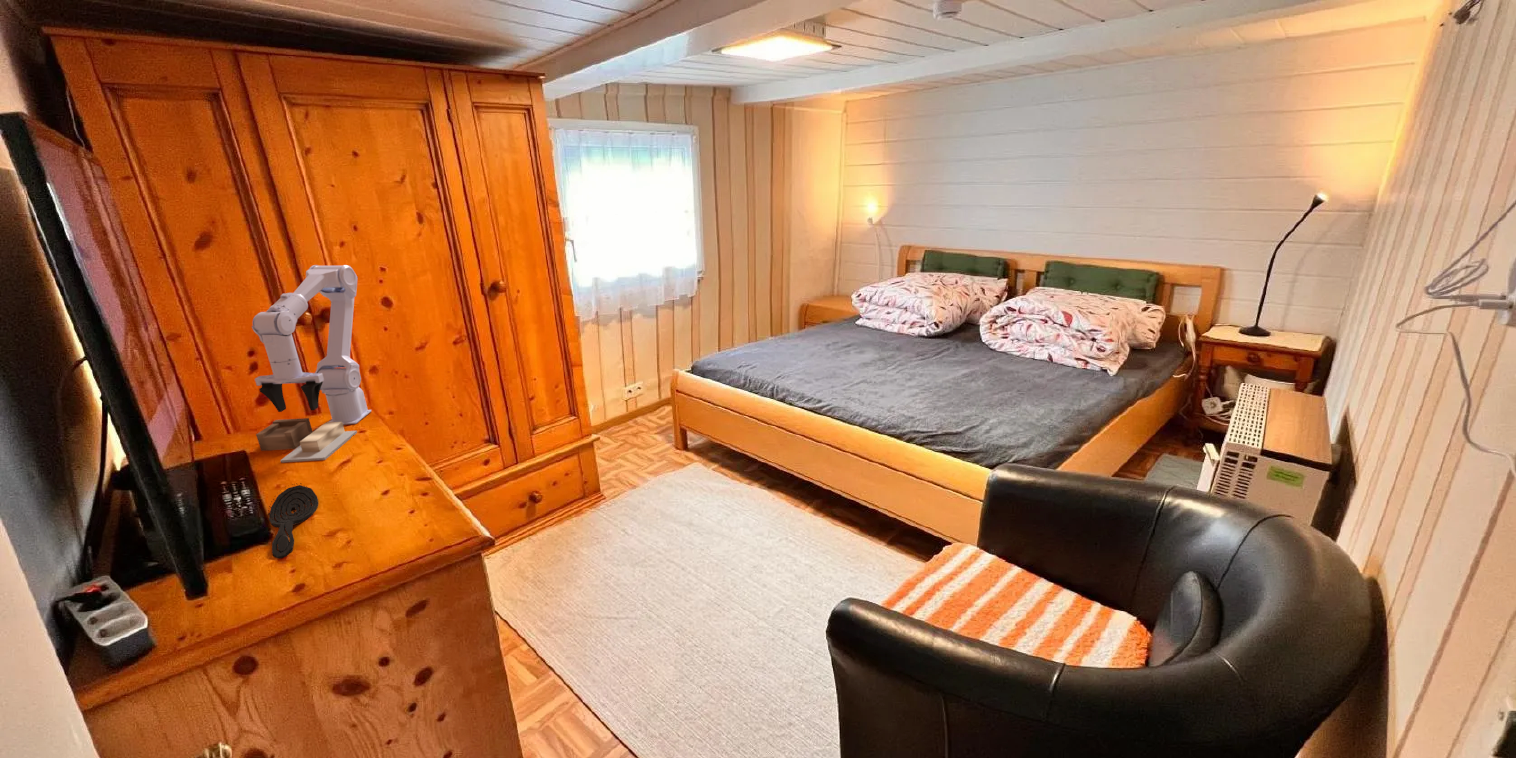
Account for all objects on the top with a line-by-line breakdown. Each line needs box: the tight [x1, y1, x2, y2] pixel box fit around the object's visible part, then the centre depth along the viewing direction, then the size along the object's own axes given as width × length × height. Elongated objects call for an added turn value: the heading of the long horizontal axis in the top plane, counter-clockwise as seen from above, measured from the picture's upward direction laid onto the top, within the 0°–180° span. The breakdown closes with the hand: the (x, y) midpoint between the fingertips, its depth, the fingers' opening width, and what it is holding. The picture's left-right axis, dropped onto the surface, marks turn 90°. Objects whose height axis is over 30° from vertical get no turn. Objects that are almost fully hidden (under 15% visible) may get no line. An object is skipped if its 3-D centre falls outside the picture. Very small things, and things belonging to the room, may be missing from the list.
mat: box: [280, 430, 358, 464], centre depth 152 cm, size 16×10×1 cm, turn 8°
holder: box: [255, 417, 314, 452], centre depth 153 cm, size 8×8×5 cm
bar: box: [300, 421, 345, 452], centre depth 153 cm, size 12×4×3 cm, turn 8°
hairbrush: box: [268, 482, 319, 559], centre depth 118 cm, size 8×4×25 cm
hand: (298, 409), depth 150 cm, fingers open, 7 cm apart
